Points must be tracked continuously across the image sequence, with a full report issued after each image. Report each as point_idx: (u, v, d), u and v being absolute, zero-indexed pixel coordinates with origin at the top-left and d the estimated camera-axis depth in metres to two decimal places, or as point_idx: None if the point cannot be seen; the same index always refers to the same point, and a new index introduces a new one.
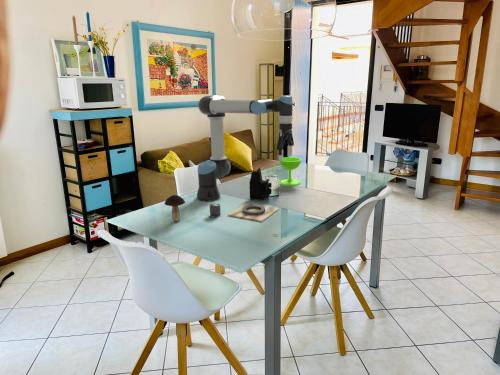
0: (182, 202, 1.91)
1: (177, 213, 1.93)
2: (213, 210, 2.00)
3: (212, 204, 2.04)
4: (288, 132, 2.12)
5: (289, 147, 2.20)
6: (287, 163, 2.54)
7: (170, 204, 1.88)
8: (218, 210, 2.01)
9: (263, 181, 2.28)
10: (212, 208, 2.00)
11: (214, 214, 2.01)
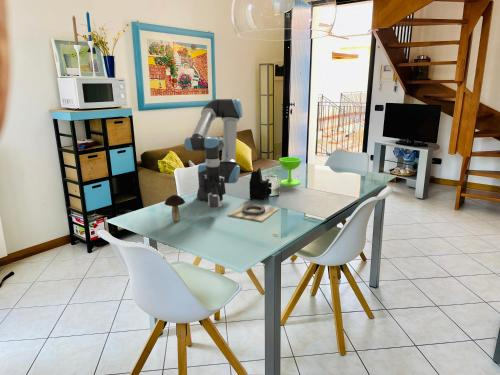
0: (182, 202, 1.91)
1: (177, 213, 1.93)
2: (213, 201, 1.99)
3: (212, 195, 2.03)
4: (214, 175, 1.96)
5: None
6: (287, 163, 2.54)
7: (170, 204, 1.88)
8: None
9: (263, 181, 2.28)
10: (212, 199, 1.99)
11: (214, 205, 2.00)
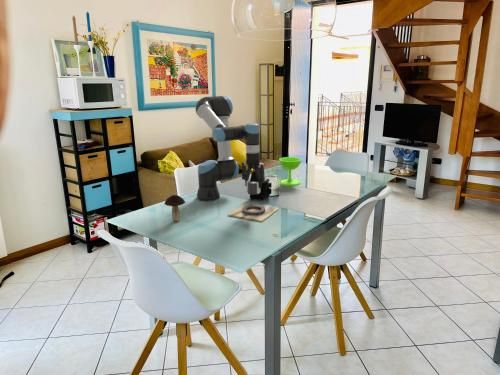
0: (182, 202, 1.91)
1: (177, 213, 1.93)
2: (252, 187, 1.99)
3: (250, 182, 2.03)
4: (254, 162, 1.97)
5: None
6: (287, 163, 2.54)
7: (170, 204, 1.88)
8: None
9: (263, 181, 2.28)
10: (251, 185, 1.99)
11: (252, 192, 2.00)
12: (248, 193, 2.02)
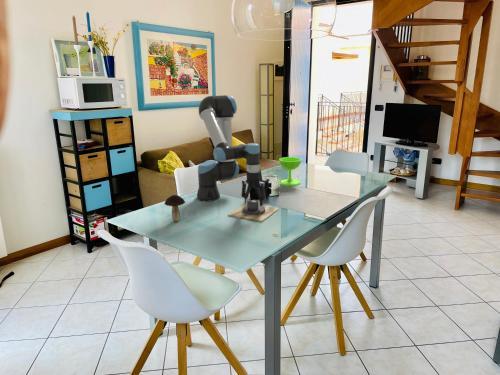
0: (182, 202, 1.91)
1: (177, 213, 1.93)
2: (252, 206, 2.02)
3: (250, 200, 2.06)
4: (254, 181, 2.00)
5: None
6: (287, 163, 2.54)
7: (170, 204, 1.88)
8: (257, 206, 2.03)
9: (263, 181, 2.28)
10: (251, 204, 2.02)
11: (253, 210, 2.03)
12: None
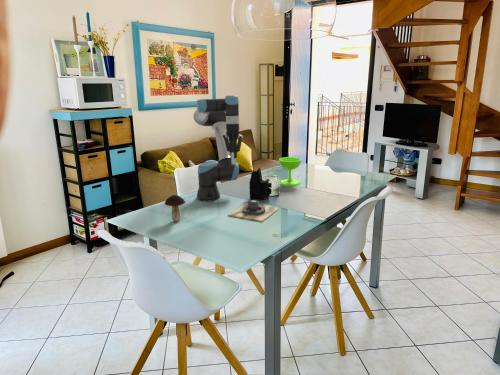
0: (182, 202, 1.91)
1: (177, 213, 1.93)
2: (252, 206, 2.02)
3: (250, 200, 2.06)
4: (234, 131, 2.05)
5: None
6: (287, 163, 2.54)
7: (170, 204, 1.88)
8: (257, 206, 2.03)
9: (263, 181, 2.28)
10: (251, 204, 2.02)
11: (253, 210, 2.03)
12: None
